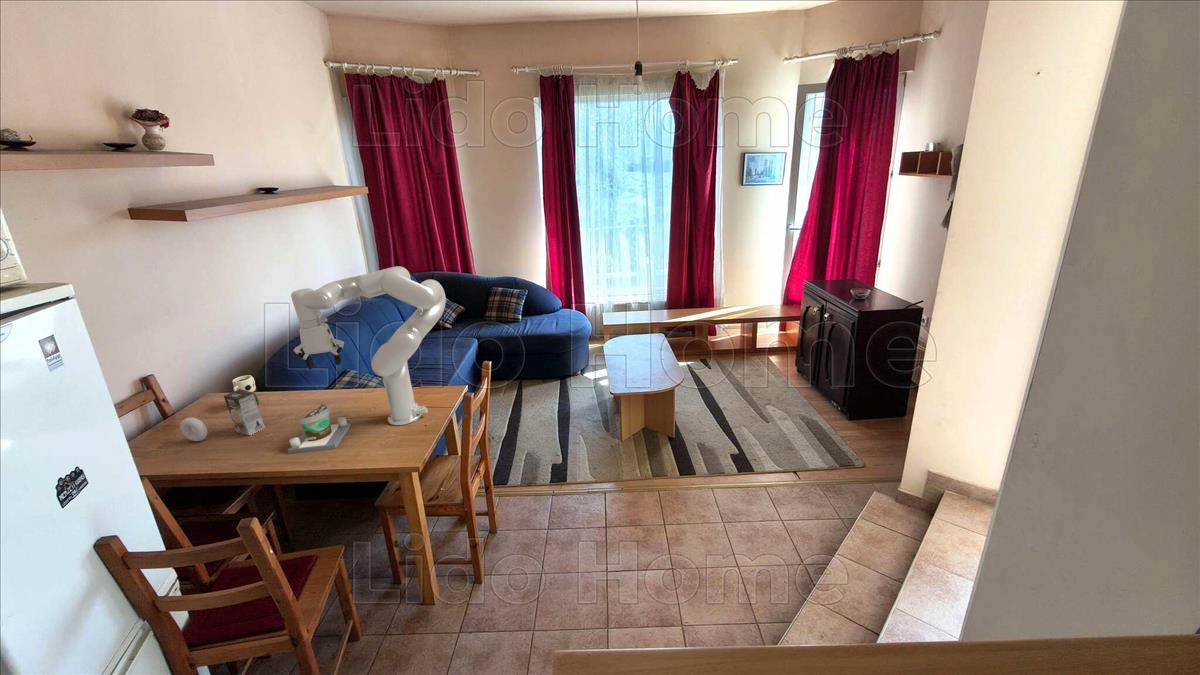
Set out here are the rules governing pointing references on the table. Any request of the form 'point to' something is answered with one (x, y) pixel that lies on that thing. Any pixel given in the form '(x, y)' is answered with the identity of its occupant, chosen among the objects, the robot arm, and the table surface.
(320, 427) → the food container
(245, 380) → the character mug
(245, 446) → the table surface
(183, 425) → the donut
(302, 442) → the board
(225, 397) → the coffee box
